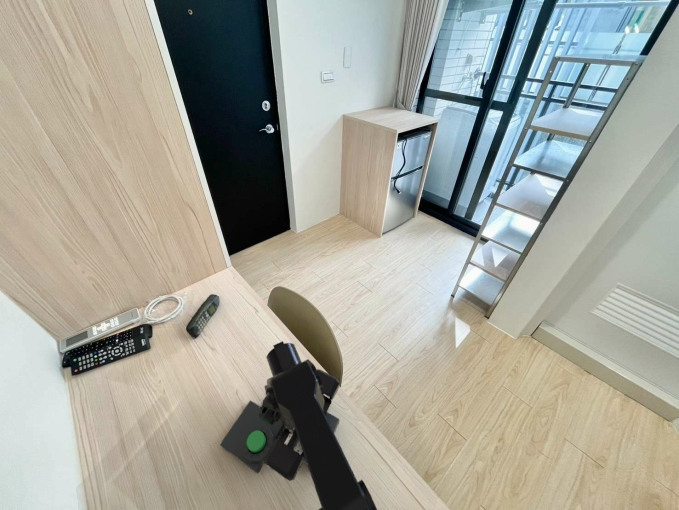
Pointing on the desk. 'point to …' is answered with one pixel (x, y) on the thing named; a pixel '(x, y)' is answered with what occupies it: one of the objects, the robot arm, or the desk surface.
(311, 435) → the robot arm
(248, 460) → the button block
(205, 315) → the mobile phone
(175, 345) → the desk surface
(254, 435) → the button
